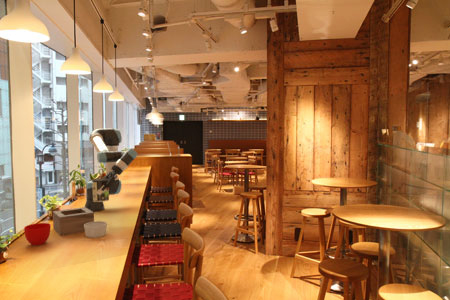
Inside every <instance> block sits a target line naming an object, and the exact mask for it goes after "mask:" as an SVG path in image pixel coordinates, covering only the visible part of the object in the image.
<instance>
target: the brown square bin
mask: <svg viewBox="0 0 450 300" xmlns="http://www.w3.org/2000/svg"><path fill="white" fill-rule="evenodd" d="M94 221H95V211H91V210H89V209H87V208H86V207H85V206H84V207H83V206H82V207H77V208H69V209H67V208H66V209H63V210H61V209H60V210H54V211H52V224H53V225H52V226H53V230H54V231H55V232H56V233H57V234H58V235H59V236H60V237H62V236H68V235H74V234H79V233H85V228H84V224H86V223H89V222H94Z"/></svg>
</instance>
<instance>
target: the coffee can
mask: <svg viewBox="0 0 450 300" xmlns="http://www.w3.org/2000/svg"><path fill="white" fill-rule="evenodd" d="M107 180H108V179H103V178H95V179H91V181H92V186H93V201H94V202H103V203H104V202H109V201H110V195H109V187H106V189H105V190H104V191H103V193H102V194H101V195H99V194H97V191H98V190H99V189H100V188H101V187H102V186H103V184H105V183H106V181H107Z"/></svg>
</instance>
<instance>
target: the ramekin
mask: <svg viewBox="0 0 450 300" xmlns="http://www.w3.org/2000/svg"><path fill="white" fill-rule="evenodd" d="M107 226H108V222H107V221H103V220H102V221H101V220H99V221H98V220H94V222H89V223H86V224H84V228H85V232H84V234H85V236H86V237H87V238H90V239H91V238H93V239H94V238H95V239H97V238H101V237H104V236H105V235H106V234H107V229H108V227H107Z"/></svg>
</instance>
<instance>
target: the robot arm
mask: <svg viewBox="0 0 450 300" xmlns="http://www.w3.org/2000/svg"><path fill="white" fill-rule="evenodd" d="M122 140H123V139H122V134H121V131H120V130H119V129H118V128H97V129H94V130H93V131H92V132H91V133H90V134H89V143H90V144H91V145H92V146H93V147H94V149H95V150H96V152H97V156H96V158H97V159H96V160H97V163H101V164H105V176H104V177H102V179H108V180H107V181H106V183H105V184H103V186H102V187H101V188H100V189H99V190H98V191H97V194H99V195H101V194H102V193H103V191H104V190H105V189H106V187H109V196H111V195H112V196H114V195H118V194H121V193H120V192H121V190H122V181H121V179H120V178H119V177H118V176H121V174H123V172H124V171H125V170H127V169H128V167H129V165H131V163H133V161H134V160H135V159H136V158H137V156H138V152H137V151H136V150H135V149H134V148H132V147H128V149H127V150H120V151H118V148H119V146H120V144H121V143H122ZM85 195H86V201H85V203H84V207H86V208H87V209H89V210H91V211H92V212H99V211H103V210H105V204H104V202H94V201H93V186H92V180H89V181H87V182H86V185H85Z"/></svg>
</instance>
